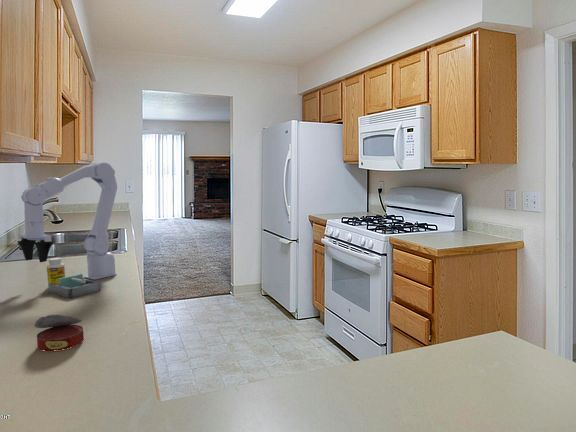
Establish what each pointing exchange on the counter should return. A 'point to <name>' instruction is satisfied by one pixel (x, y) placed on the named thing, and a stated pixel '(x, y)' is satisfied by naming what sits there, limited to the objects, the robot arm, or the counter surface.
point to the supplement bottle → (55, 270)
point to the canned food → (58, 332)
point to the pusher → (72, 281)
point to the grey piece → (75, 289)
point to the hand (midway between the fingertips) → (36, 260)
